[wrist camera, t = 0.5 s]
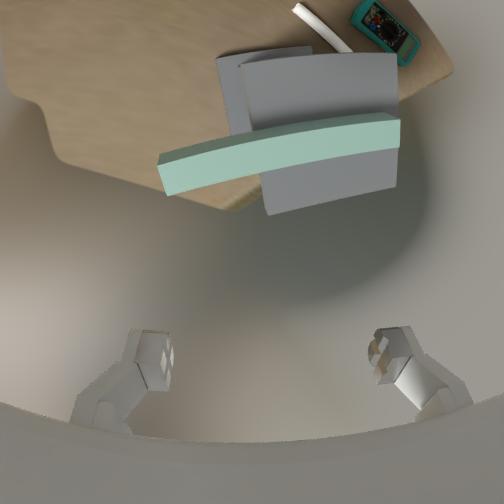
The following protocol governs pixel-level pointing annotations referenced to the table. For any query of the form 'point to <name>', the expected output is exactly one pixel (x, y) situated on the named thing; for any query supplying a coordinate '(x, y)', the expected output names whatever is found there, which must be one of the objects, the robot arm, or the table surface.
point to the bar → (276, 149)
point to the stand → (312, 116)
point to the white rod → (321, 28)
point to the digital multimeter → (385, 30)
